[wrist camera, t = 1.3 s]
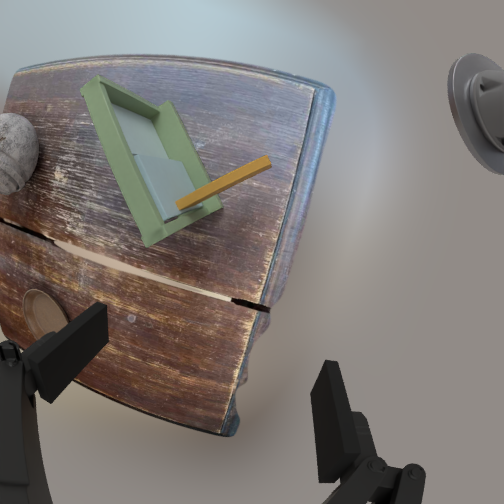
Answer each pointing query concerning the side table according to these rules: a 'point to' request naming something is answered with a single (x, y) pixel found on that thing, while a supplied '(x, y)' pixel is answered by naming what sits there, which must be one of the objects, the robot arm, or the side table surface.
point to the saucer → (43, 313)
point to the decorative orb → (16, 152)
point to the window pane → (187, 183)
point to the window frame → (144, 152)
